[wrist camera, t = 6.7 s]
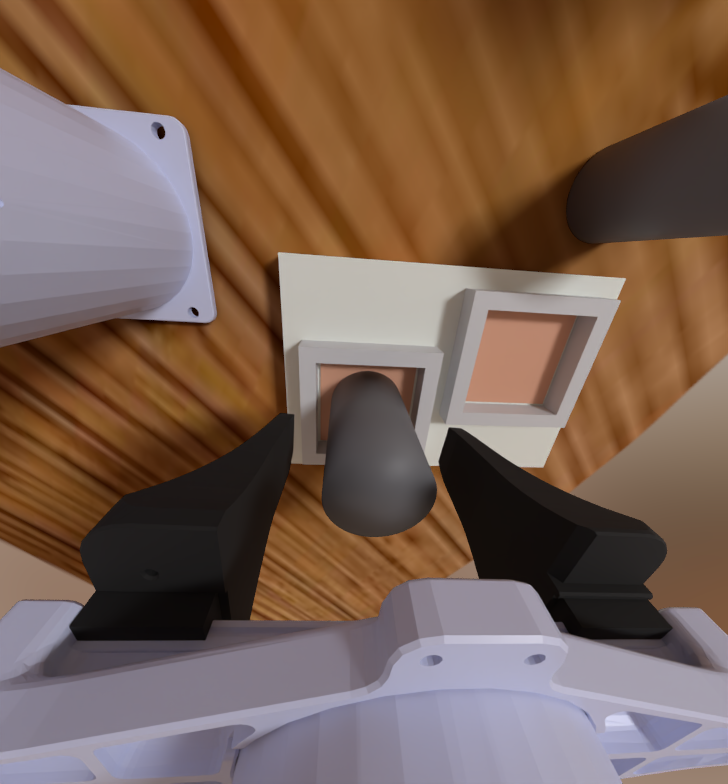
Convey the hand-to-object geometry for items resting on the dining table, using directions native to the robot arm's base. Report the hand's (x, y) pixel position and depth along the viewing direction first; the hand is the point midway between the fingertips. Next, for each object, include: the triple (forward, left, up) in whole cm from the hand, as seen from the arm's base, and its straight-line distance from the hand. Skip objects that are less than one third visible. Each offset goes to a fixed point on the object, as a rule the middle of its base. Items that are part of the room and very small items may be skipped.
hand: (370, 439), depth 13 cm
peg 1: (0, 0, -3) cm, 3 cm away
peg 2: (+11, +11, -5) cm, 16 cm away
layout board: (+4, +2, -5) cm, 6 cm away
